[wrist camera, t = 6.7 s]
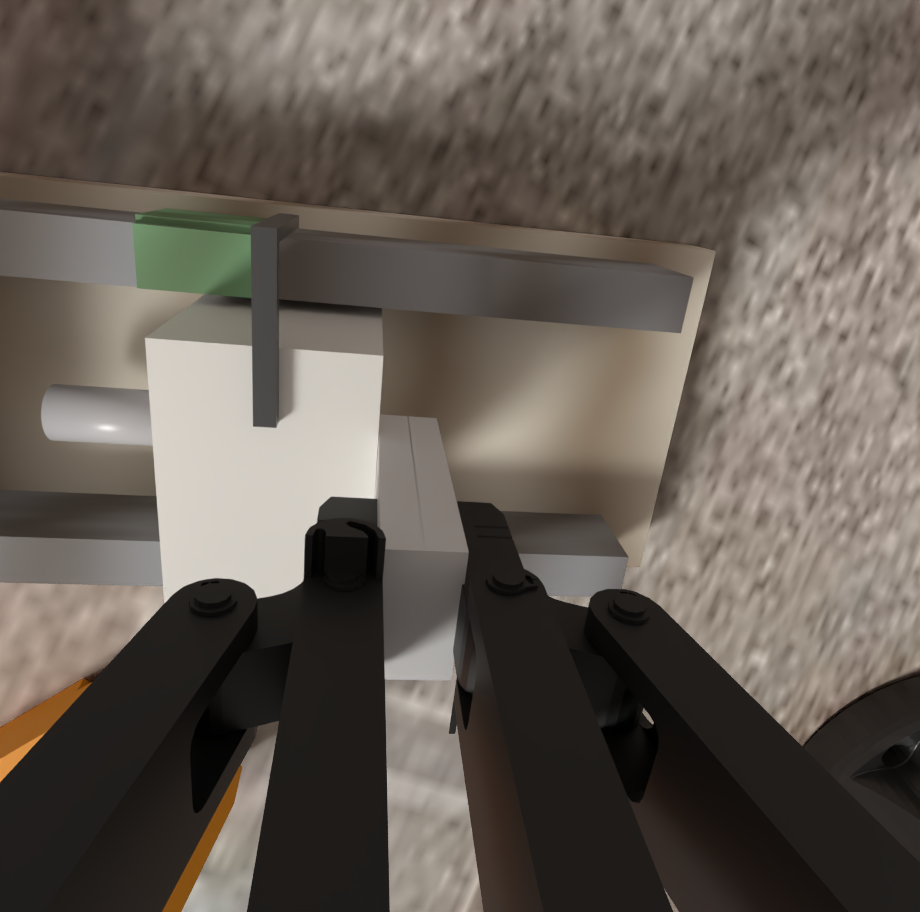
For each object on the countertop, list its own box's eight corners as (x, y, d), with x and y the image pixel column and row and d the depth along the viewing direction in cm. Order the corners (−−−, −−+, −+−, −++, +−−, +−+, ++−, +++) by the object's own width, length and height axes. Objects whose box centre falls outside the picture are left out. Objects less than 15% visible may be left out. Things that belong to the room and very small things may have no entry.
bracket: (134, 647, 28) (-25, 960, 17) (245, 752, 31) (172, 1078, 20) (-67, 766, 29) (-337, 1131, 18) (58, 856, 32) (-110, 1219, 21)
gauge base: (690, 244, 24) (886, 291, 15) (622, 541, 28) (740, 718, 19) (-288, 141, 19) (-882, 116, 10) (-182, 511, 24) (-527, 723, 15)
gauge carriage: (386, 216, 20) (391, 240, 14) (369, 500, 24) (366, 627, 17) (63, 182, 19) (-104, 190, 12) (97, 488, 22) (-19, 620, 16)
